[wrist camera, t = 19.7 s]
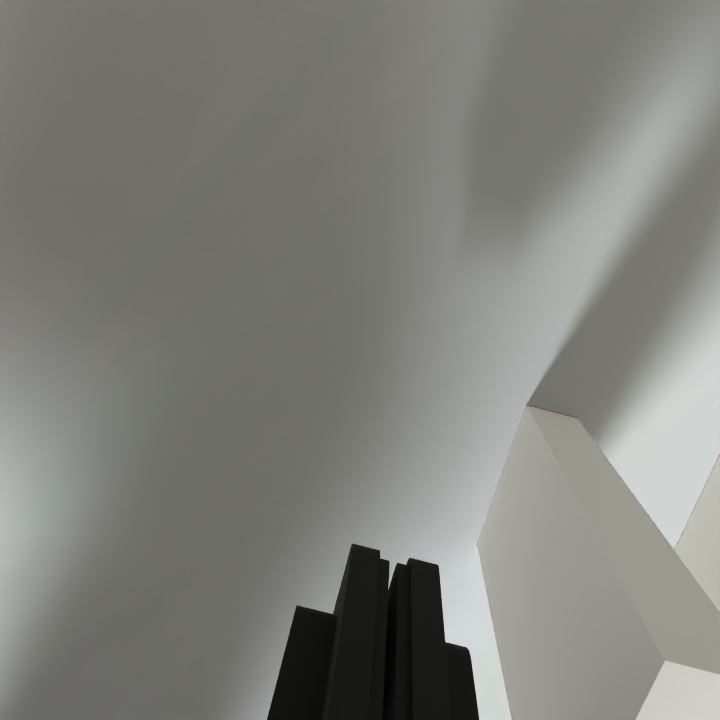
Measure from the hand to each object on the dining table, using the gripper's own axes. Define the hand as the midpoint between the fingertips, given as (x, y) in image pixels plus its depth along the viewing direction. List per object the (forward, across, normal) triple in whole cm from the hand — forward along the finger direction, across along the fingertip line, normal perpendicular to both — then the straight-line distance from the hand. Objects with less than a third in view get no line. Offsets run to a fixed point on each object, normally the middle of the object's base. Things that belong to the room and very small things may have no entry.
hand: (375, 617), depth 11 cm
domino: (+8, -4, 0) cm, 9 cm away
